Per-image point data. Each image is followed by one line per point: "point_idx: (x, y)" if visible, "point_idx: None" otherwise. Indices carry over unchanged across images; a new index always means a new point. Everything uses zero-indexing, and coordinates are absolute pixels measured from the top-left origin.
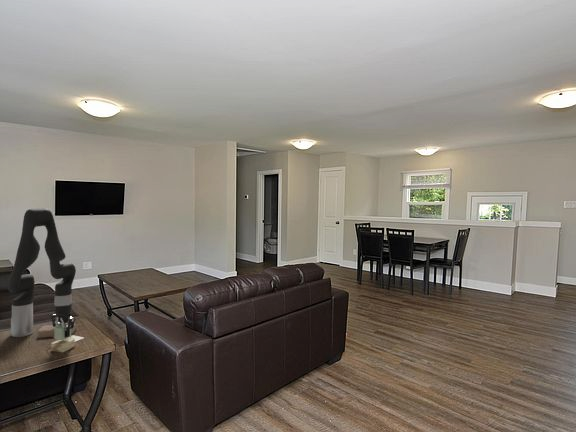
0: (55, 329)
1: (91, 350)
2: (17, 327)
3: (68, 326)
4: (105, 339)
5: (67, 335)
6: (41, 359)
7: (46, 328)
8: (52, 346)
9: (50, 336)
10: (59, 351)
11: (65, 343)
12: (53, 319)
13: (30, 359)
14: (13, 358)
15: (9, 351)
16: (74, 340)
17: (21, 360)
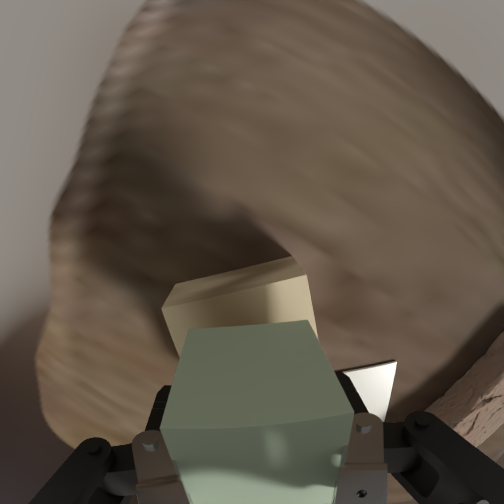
0: (321, 393)
1: (60, 372)
2: None
3: (75, 474)
4: None
5: (158, 396)
6: (197, 121)
7: None
8: (283, 269)
9: (471, 367)
10: (210, 276)
11: (176, 336)
12: (473, 489)
13: (276, 84)
14: (395, 60)
15: (496, 133)
16: None
17: (317, 52)
